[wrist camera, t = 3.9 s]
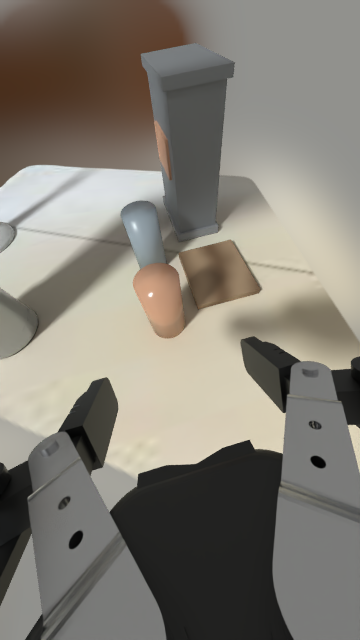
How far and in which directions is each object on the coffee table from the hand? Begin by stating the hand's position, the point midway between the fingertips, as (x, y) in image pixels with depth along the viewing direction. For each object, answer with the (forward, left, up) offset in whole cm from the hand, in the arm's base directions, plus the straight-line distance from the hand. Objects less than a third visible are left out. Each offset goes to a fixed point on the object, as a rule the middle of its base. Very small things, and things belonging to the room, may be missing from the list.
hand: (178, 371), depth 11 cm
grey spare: (0, +24, -14) cm, 28 cm away
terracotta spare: (0, +11, -14) cm, 18 cm away
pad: (+10, +18, -14) cm, 25 cm away
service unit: (+10, +35, -14) cm, 39 cm away
